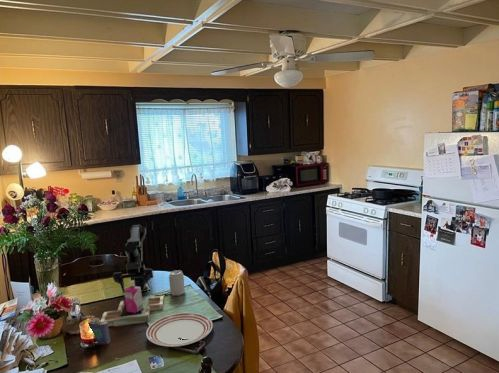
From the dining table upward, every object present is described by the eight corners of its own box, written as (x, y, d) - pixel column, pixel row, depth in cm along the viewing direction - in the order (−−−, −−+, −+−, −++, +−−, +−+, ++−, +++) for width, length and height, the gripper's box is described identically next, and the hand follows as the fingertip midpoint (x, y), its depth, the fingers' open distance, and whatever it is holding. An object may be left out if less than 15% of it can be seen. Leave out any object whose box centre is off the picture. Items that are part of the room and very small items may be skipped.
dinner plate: (209, 314, 174) (208, 307, 173) (216, 345, 147) (216, 338, 146) (148, 324, 168) (147, 317, 167) (145, 358, 141) (144, 350, 141)
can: (186, 290, 201) (184, 269, 200) (182, 296, 194) (180, 274, 192) (173, 290, 202) (171, 269, 201) (168, 296, 195) (166, 274, 193)
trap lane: (108, 307, 187) (108, 301, 187) (163, 299, 192) (163, 294, 191) (100, 328, 166) (99, 322, 166) (162, 319, 171) (161, 313, 170)
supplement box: (134, 307, 185) (132, 285, 184) (143, 309, 183) (141, 286, 181) (126, 312, 180) (123, 289, 179) (135, 314, 178) (132, 291, 176)
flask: (111, 341, 155) (108, 317, 153) (107, 345, 152) (103, 320, 150) (92, 339, 157) (89, 315, 156) (88, 343, 154) (84, 319, 153)
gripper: (111, 257, 183) (109, 287, 174) (150, 252, 187) (151, 282, 177) (115, 267, 192) (114, 296, 183) (153, 263, 195) (153, 291, 186)
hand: (133, 291), depth 182 cm, fingers open, 9 cm apart
